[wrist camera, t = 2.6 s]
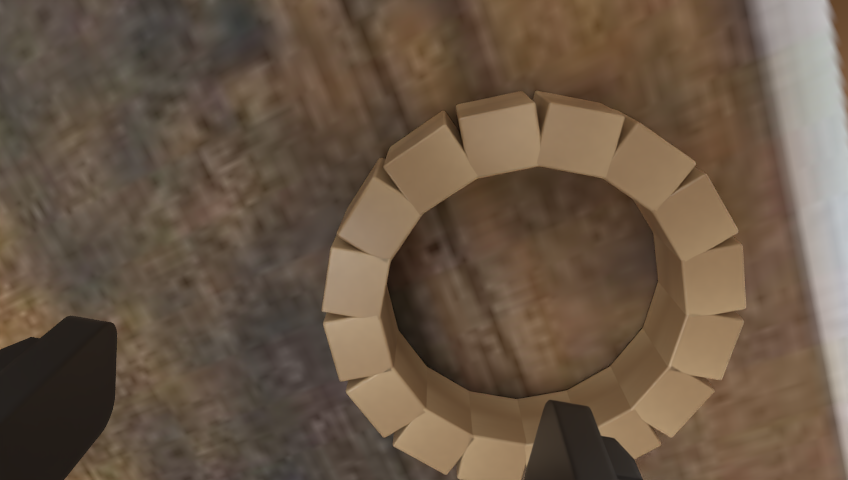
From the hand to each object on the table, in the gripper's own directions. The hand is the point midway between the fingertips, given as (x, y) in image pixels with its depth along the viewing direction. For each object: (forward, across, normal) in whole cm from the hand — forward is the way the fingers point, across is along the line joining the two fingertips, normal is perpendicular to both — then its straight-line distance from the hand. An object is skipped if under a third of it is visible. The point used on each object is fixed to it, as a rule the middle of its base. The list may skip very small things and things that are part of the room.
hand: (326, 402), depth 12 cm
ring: (+8, -5, 0) cm, 9 cm away
